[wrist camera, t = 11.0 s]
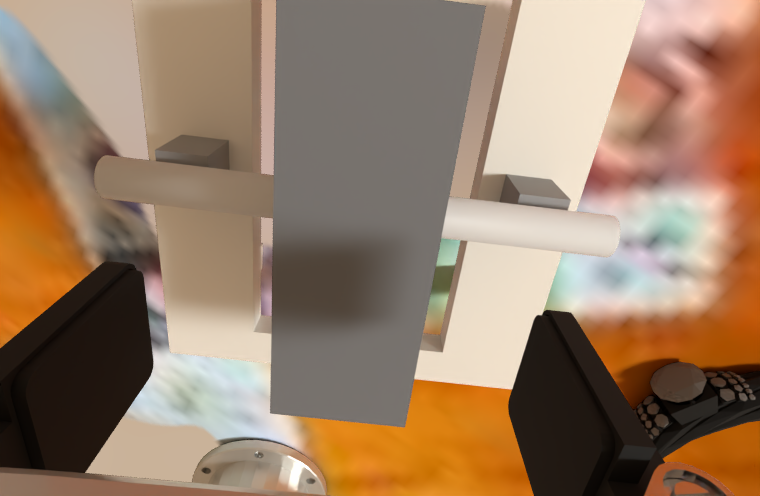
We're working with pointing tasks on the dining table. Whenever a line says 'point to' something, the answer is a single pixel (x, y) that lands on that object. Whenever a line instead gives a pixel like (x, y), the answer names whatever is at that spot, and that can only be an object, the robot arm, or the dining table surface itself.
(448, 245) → the dining table surface
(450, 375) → the cream frame with rod
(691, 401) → the cable lock
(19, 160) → the dining table surface
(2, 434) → the robot arm
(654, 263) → the dining table surface
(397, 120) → the grey piece
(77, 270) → the dining table surface
